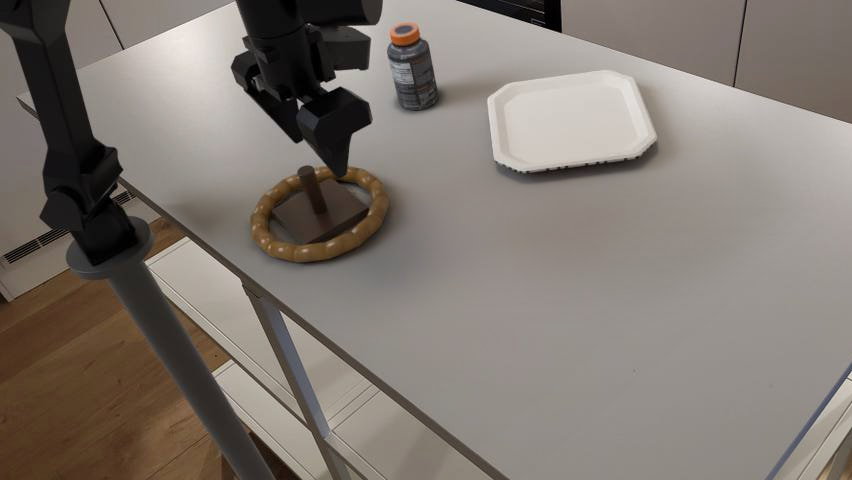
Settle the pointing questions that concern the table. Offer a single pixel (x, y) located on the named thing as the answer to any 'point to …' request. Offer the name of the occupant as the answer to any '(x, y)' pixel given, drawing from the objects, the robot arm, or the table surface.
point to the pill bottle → (411, 67)
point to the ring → (325, 248)
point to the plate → (569, 122)
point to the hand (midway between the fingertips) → (320, 158)
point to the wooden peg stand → (319, 209)
